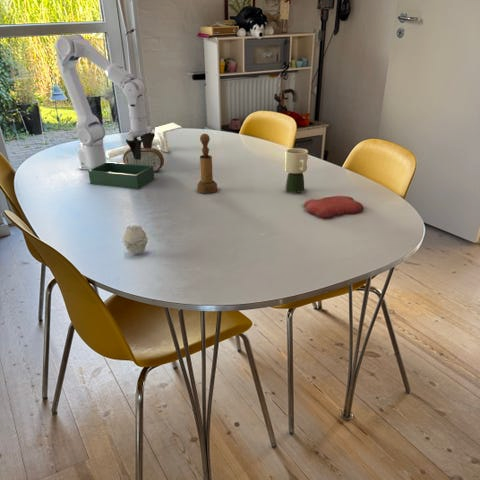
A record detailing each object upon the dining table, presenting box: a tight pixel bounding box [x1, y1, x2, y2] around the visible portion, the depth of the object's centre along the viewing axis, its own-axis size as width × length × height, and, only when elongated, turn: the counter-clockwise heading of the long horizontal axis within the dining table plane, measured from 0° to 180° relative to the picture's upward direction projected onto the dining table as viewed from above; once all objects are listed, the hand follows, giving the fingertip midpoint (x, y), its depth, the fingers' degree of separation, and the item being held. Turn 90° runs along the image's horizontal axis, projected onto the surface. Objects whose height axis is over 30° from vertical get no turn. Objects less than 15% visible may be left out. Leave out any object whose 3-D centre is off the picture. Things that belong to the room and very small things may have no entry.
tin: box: [122, 147, 165, 173], centre depth 178 cm, size 15×3×8 cm, turn 84°
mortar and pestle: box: [196, 133, 218, 194], centre depth 156 cm, size 7×6×18 cm
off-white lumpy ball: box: [122, 224, 149, 255], centre depth 119 cm, size 6×7×7 cm
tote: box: [87, 161, 155, 190], centre depth 169 cm, size 19×12×5 cm, turn 70°
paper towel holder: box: [105, 122, 183, 159], centre depth 200 cm, size 9×9×32 cm
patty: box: [303, 195, 364, 219], centre depth 145 cm, size 18×14×2 cm
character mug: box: [284, 147, 309, 194], centre depth 155 cm, size 11×7×13 cm, turn 21°
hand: (143, 156), depth 177 cm, fingers open, 7 cm apart
